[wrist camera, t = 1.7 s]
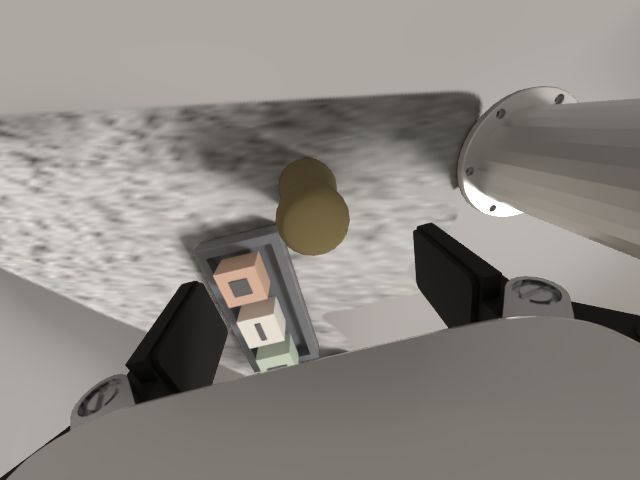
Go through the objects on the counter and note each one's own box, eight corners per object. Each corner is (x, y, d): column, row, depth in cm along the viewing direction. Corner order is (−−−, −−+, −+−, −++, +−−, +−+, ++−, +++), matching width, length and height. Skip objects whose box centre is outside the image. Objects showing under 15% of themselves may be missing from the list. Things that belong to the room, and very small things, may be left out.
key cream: (275, 295, 28) (273, 314, 26) (285, 321, 30) (284, 341, 27) (242, 303, 28) (236, 323, 26) (253, 328, 30) (249, 349, 27)
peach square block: (258, 250, 26) (253, 266, 23) (270, 281, 28) (267, 299, 25) (221, 259, 26) (212, 276, 23) (235, 289, 28) (228, 308, 25)
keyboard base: (279, 223, 27) (277, 232, 25) (318, 342, 36) (319, 357, 33) (200, 242, 28) (192, 253, 25) (257, 356, 36) (254, 372, 34)
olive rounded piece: (266, 183, 25) (246, 222, 15) (313, 145, 24) (324, 161, 14) (303, 226, 28) (306, 283, 18) (347, 193, 27) (377, 235, 17)
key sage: (290, 332, 31) (289, 353, 28) (298, 354, 33) (298, 376, 30) (259, 340, 31) (255, 361, 28) (269, 361, 33) (266, 383, 30)
